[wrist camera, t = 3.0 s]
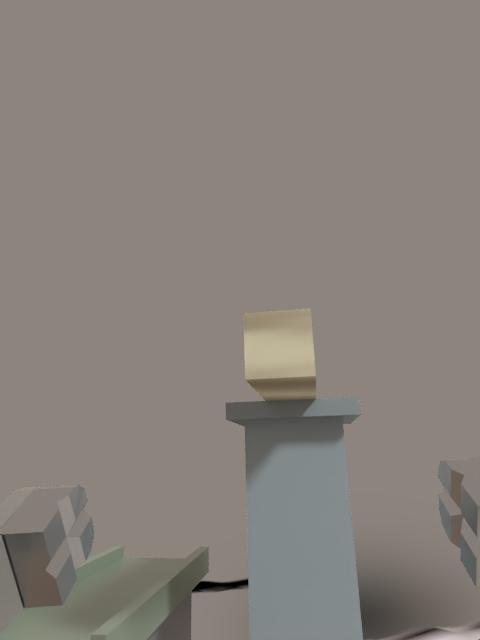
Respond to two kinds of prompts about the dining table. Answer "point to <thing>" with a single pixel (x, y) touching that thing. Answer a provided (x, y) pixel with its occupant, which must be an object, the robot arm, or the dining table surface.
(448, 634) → the dining table surface
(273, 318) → the block
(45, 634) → the box with lid
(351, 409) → the plinth
